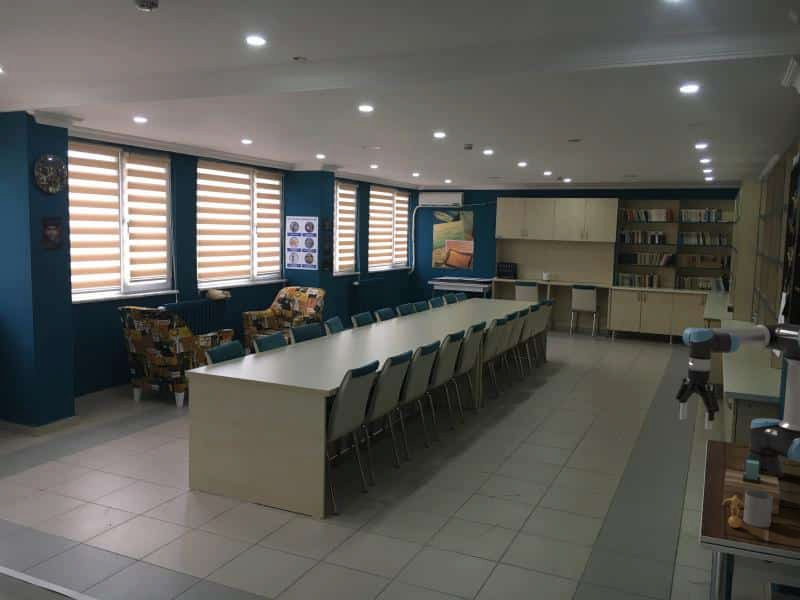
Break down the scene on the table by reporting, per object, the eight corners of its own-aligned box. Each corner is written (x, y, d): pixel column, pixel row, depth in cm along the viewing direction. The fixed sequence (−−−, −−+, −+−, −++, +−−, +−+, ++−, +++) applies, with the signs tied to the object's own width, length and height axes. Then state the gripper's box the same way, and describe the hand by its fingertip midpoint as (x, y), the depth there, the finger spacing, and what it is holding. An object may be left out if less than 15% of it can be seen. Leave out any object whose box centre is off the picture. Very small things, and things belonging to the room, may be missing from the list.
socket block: (724, 488, 266) (725, 466, 265) (776, 497, 258) (778, 474, 257) (722, 504, 250) (724, 480, 249) (778, 514, 242) (780, 489, 241)
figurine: (749, 528, 229) (751, 494, 228) (745, 534, 224) (748, 500, 223) (722, 522, 234) (725, 488, 233) (718, 527, 229) (721, 493, 228)
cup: (739, 521, 235) (741, 494, 234) (748, 515, 241) (750, 488, 240) (766, 529, 229) (768, 501, 228) (773, 522, 235) (776, 495, 234)
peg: (745, 479, 256) (746, 459, 255) (757, 481, 254) (758, 461, 253) (745, 483, 252) (746, 462, 252) (757, 485, 250) (758, 464, 250)
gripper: (668, 363, 264) (665, 415, 266) (715, 376, 241) (711, 434, 243) (684, 362, 267) (680, 414, 269) (732, 375, 243) (728, 432, 245)
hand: (695, 424), depth 256 cm, fingers open, 13 cm apart
